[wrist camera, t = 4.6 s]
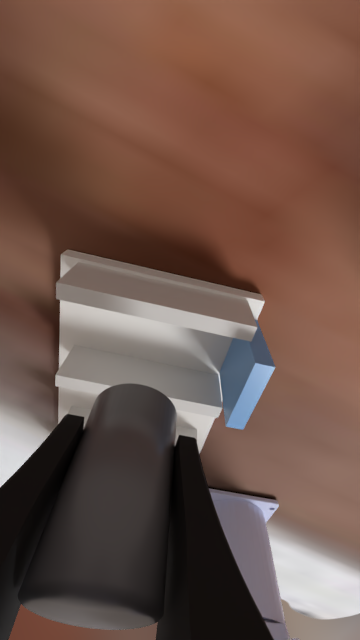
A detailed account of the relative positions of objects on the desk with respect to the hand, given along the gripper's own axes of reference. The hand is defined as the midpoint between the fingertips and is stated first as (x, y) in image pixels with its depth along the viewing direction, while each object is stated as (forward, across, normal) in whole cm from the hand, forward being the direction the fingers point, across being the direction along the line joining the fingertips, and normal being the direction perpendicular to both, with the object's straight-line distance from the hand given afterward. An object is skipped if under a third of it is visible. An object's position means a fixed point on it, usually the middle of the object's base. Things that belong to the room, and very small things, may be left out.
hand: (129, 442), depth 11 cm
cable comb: (+9, 0, +6) cm, 11 cm away
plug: (+1, 0, 0) cm, 1 cm away
